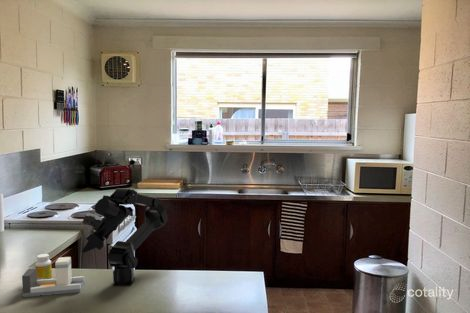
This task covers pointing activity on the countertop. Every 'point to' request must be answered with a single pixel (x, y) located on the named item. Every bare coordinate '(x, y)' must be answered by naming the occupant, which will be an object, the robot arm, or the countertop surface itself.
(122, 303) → the countertop surface
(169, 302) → the countertop surface
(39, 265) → the supplement bottle
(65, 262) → the cream banded box
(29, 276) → the track
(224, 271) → the countertop surface
